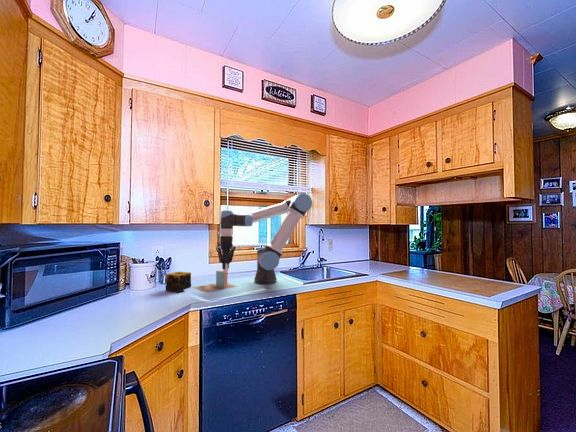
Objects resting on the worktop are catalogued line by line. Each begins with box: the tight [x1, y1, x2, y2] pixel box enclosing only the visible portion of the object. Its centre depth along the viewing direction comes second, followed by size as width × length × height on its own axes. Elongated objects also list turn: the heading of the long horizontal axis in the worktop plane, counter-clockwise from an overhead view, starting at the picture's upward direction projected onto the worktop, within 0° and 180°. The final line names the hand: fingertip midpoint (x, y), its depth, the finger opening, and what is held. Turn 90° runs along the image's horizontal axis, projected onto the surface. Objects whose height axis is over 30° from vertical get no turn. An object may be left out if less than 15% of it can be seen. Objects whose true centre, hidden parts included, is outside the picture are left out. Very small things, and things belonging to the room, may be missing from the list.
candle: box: [165, 271, 192, 294], centre depth 154 cm, size 10×10×10 cm
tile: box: [215, 270, 229, 289], centre depth 159 cm, size 2×9×9 cm, turn 47°
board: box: [191, 282, 237, 294], centre depth 158 cm, size 21×16×1 cm
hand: (225, 274), depth 161 cm, fingers closed
